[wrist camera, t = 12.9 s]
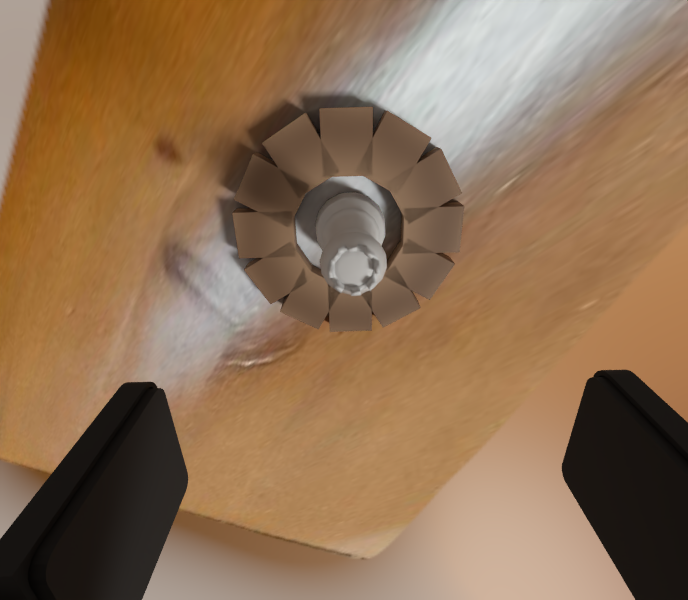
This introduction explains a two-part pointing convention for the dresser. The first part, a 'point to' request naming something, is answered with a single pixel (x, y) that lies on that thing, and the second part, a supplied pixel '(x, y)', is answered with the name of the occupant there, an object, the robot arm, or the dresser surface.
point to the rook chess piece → (351, 243)
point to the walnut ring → (348, 160)
